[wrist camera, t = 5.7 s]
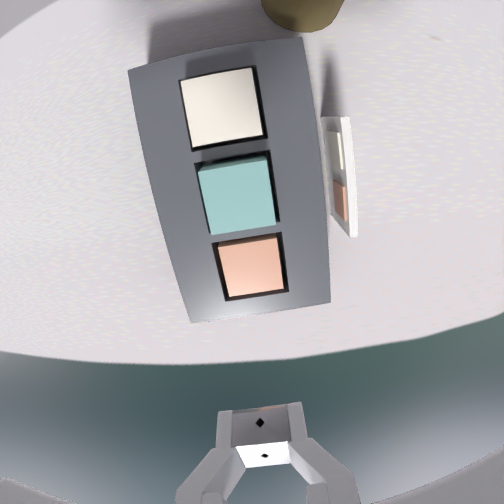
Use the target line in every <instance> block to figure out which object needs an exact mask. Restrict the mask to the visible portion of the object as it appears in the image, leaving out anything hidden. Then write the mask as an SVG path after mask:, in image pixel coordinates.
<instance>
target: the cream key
mask: <svg viewBox="0 0 504 504" xmlns="http://www.w3.org/2000/svg"><path fill="white" fill-rule="evenodd" d="M181 87H182V92H183V98H184V103H185V109H186V114H187V119H188V125H189V130H190V135H191V140H192V145H193V147H196V146H201V145H206V144H211V143H216V142H222V141H227V140H233V139H239V138H245V137H251V136H257V135H263V134H262V128H261V122H260V116H259V110H258V104H257V98H256V92H255V86H254V81H253V75H252V69H251V68H247V69H240V70H234V71H228V72H223V73H217V74H212V75H207V76H202V77H197V78H193V79H188V80H184V81H181Z"/></svg>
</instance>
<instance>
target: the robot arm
mask: <svg viewBox="0 0 504 504" xmlns="http://www.w3.org/2000/svg"><path fill="white" fill-rule="evenodd" d="M287 408H288V409H287ZM217 421H218V422H217V436H216V448H214V449H211V451H210V452H209V453H208V454H207V456H206V457H205V458H204V459H203V460H202V461H201V463H200V464H199V465H198V466H197V467H196V468H195V470H194V471H193V472H192V473H191V474H190V476H189V477H188V478H187V479H186V480H185V481H184V482H183V484H182V485H181V486H180V487H179V488H178V489H177V491H176V498H175V504H228V502H227V501H226V499H227V498H228V496H229V494H230V493H231V492H232V490H233V489H234V487H235V486H236V484H237V482H238V481H239V479H240V477H241V476H242V474H243V473H244V471H245V470H246V468H249V467H258V466H267V465H277V464H286V463H291V464H292V465H293V466H294V467H295V469H296V470H297V471H298V472H299V473H300V474H301V475H302V476H303V477H304V479H305V480H306V481H307V482H308V483H309V484H310V485H308V487H307V488H306V496H307V504H361V502H360V498H359V494H358V489H357V485H356V481H355V477H354V474H353V473H351V472H350V471H349V470H348V469H347V468H345V467H344V466H343V465H342V464H341V463H339V462H338V461H337V460H336V459H335V458H334V457H333V456H331V455H330V454H329V453H328V452H327V451H326V450H325V449H324V448H322V447H321V446H320V445H319V444H318V443H317V442H316V441H315V440H314V439H312V438H308V437H307V431H306V425H305V420H304V414H303V408H302V403H301V402H296V403H290V404H281V405H275V406H268V407H261V408H255V409H244V410H231V411H219V413H218V420H217ZM0 504H79V503H75V502H73V501H69V500H66V499H63V498H60V497H57V496H54V495H51V494H48V493H45V492H43V491H40V490H37V489H35V488H32V487H30V486H27V485H25V484H23V483H20V482H18V481H16V480H14V479H12V478H9V477H3V478H1V479H0ZM371 504H504V445H503V446H502V447H500V448H498V449H497V450H495V451H494V452H492V453H490V454H488V455H487V456H485V457H483V458H481V459H479V460H477V461H476V462H474V463H472V464H470V465H468V466H466V467H464V468H462V469H460V470H458V471H456V472H454V473H452V474H450V475H448V476H446V477H443V478H441V479H439V480H436V481H434V482H431V483H429V484H427V485H424V486H422V487H419V488H416V489H414V490H411V491H409V492H406V493H403V494H400V495H397V496H394V497H391V498H388V499H385V500H382V501H378V502H375V503H371Z"/></svg>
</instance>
